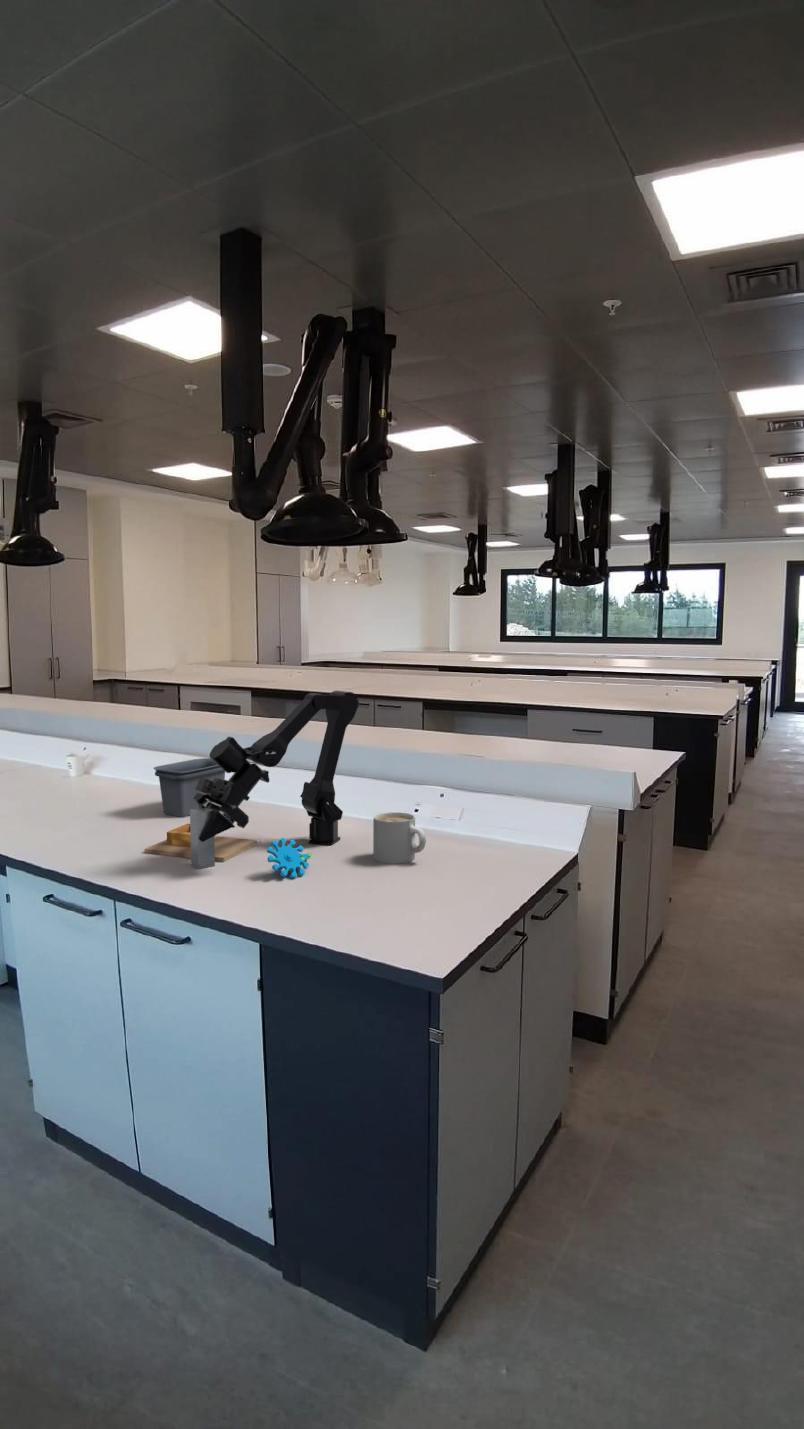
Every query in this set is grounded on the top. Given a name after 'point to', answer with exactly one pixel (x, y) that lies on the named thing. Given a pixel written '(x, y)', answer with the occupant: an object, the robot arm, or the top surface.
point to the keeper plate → (181, 845)
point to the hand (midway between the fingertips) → (196, 838)
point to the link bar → (201, 850)
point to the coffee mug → (396, 838)
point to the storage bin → (184, 783)
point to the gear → (288, 858)
